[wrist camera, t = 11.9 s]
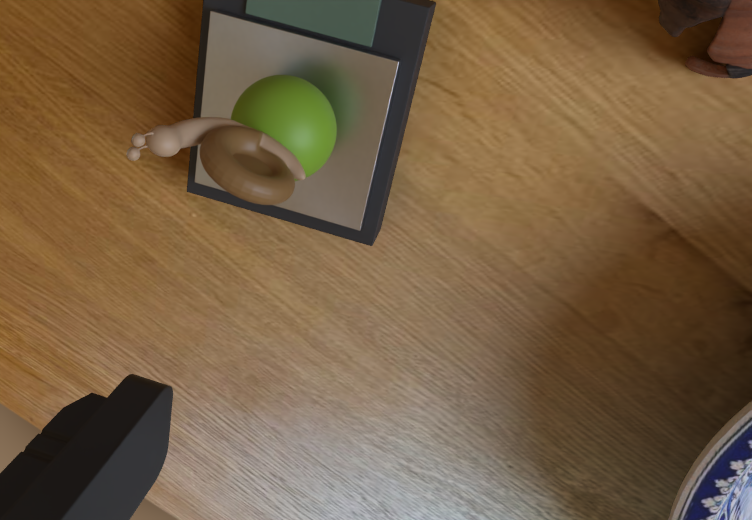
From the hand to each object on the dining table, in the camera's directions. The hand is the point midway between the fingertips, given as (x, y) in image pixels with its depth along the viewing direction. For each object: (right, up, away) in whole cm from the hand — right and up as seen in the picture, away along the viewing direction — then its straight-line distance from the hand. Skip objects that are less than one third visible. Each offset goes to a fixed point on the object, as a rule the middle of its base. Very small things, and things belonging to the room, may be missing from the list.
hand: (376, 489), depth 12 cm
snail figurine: (-5, +12, +26) cm, 29 cm away
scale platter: (-5, +12, +27) cm, 30 cm away
